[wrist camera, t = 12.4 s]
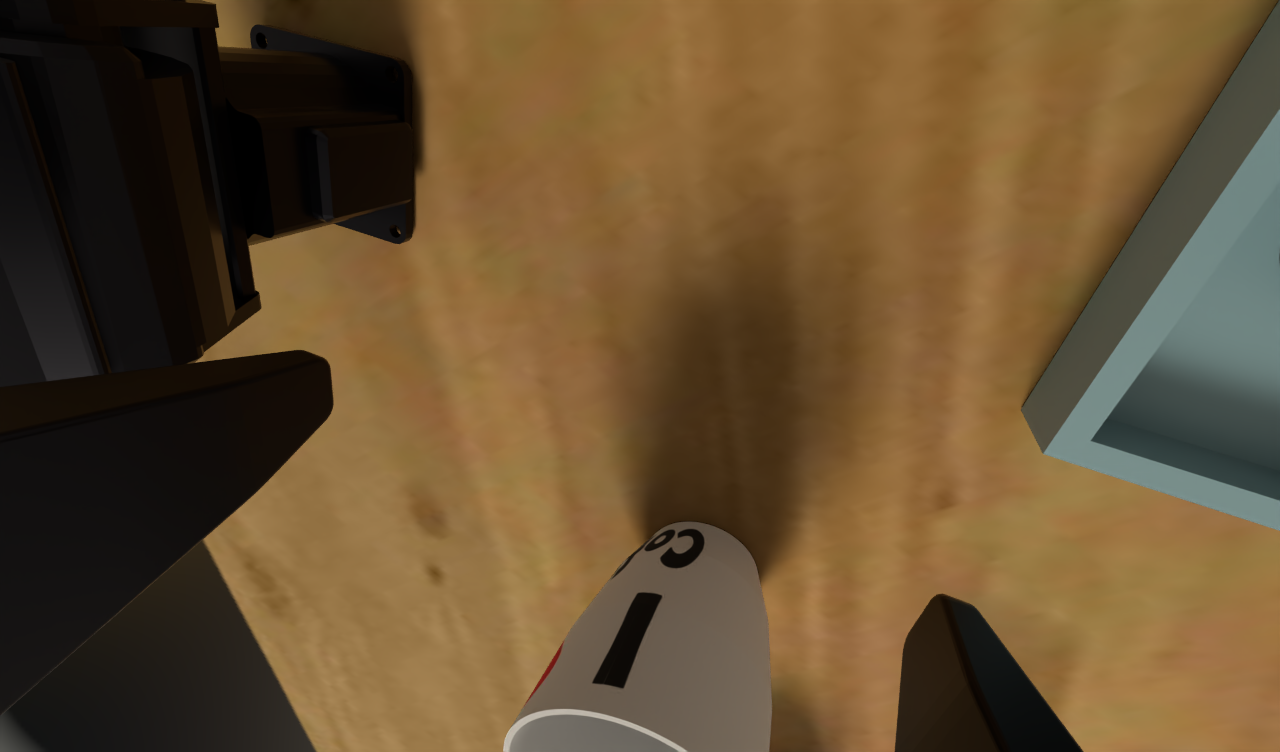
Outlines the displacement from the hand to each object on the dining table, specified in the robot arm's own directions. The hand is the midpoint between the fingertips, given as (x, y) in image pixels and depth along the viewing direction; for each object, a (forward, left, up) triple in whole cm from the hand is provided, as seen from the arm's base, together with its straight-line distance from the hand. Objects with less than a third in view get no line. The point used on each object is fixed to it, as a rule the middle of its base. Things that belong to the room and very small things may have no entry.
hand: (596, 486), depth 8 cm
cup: (+2, -14, -13) cm, 19 cm away
